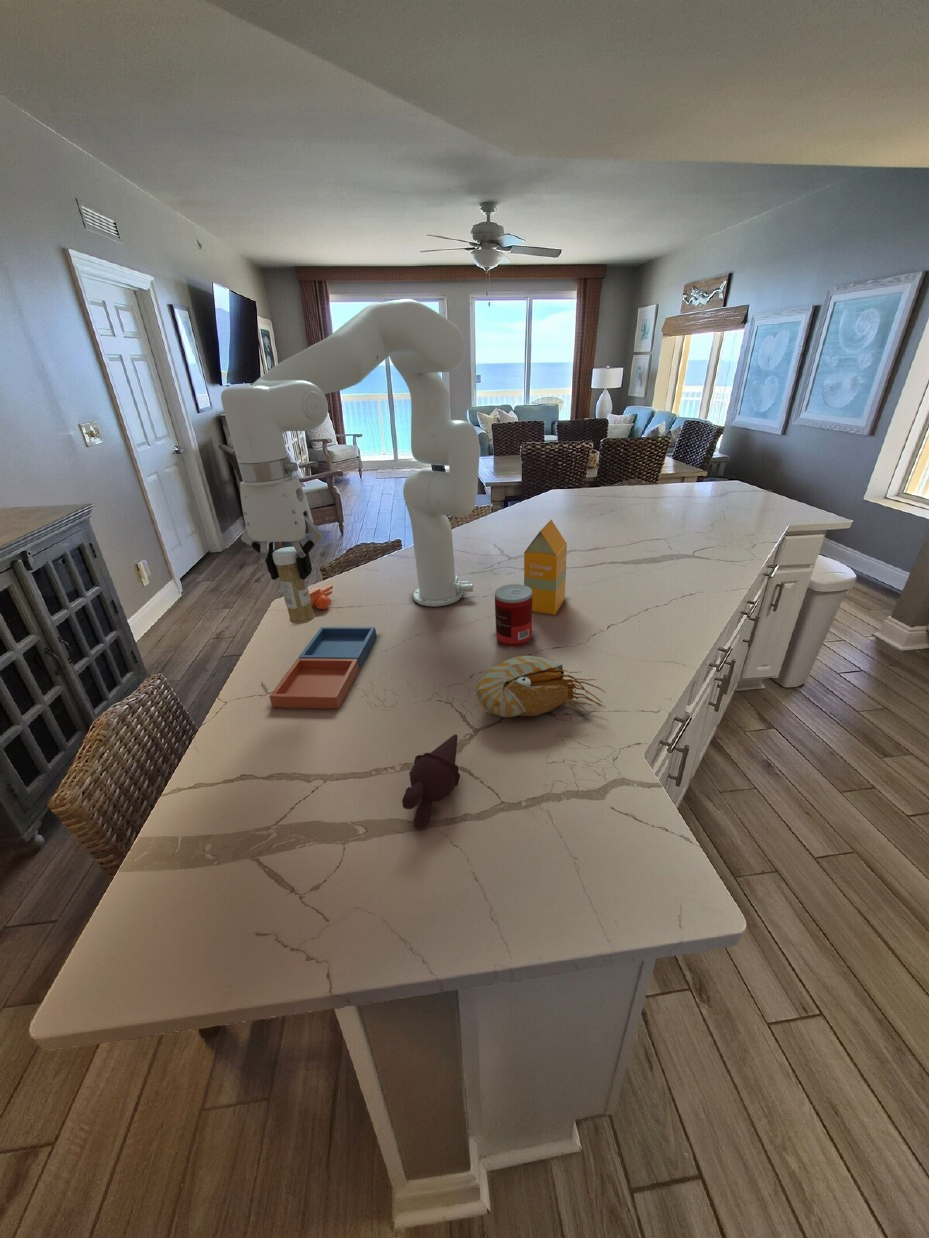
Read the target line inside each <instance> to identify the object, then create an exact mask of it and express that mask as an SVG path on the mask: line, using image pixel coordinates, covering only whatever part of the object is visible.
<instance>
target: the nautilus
mask: <svg viewBox="0 0 929 1238" xmlns="http://www.w3.org/2000/svg"><path fill="white" fill-rule="evenodd" d="M563 666H564V665H563V663H560V662H557V661H553V660H550V659H547V658H544V657H541V656H535V655H522V656H521V655H520V656H514V657H512V658H509V659H506V660H503V661H502V662H499V663H496V664H495V665H493V666H492V667H490V669H489V670H487V671H486V672H484V674H483V675H482V676H481V678H480V679H479V680H478V681H477V684H476V686H475V689H476V690H475V691H476V697H477V699H478V701H479V703H480V706H482V708H483V709H485V710H486V711H488V712H490V713H492V714H493V715H496V716H498V717H502V718H514V717H536V716H539V715H542V714H545V713H549V712H550V711H552V710H554V709H556V708H558V707H559V706H561V705H562V704H569V705H571V706H572V707H573V708H575V709H576V710H577V711H578V712H580V713H581V714H582V715H583V716H584V717H585V718H587V716H586V714H584V712H583V711H582V710H580V709H579V708H581V709H583V710H584V711H586V712H588V709H587V708H584V707H583V706H581V705H588V706H591V707H592V706H594V705H593V704H591V703H587V702H579V701H578V700H579V699H581V698H582V699H585V700H588V701H589V702H592V703H595V705H596V704H597V706H599V708H602V707H603V708H606V706H605V705H603V702H602V701H601V699H600V698H598V697H597V696H595V694H593V693H591V692H590V691H589V690H587V689H586V688H585V687H584V685H583V684H585V685H588V686H591V687H594V688H596V689H599V691H601V692H603V693H604V694H606V692H607V691H605V690H604V689H602V688H600V687H599V686H596V685H594V684H592V683H589V682H587V681H596V679H595V678H591V679H590V678H589V679H586V678H576V677H575V676H573V675H571V674H565V672H566V673H574V674H575V673H576V674H577V673H578V674H579V671H568V670H566V669H564V667H563ZM580 673H583V671H582V670H581V671H580ZM568 678H570V679H568ZM577 690H579V691H580V690H582V691H585V694H584V693H580V692H577ZM588 694H589V695H590V696H593V697H594V698H595V699H596V700H597V701H595V700H594V699H592V698H590V697H589V696H587V695H588ZM573 699H576V700H573ZM598 701H599V702H598ZM578 707H579V708H578Z"/></svg>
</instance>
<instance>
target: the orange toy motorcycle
mask: <svg viewBox="0 0 929 1238" xmlns="http://www.w3.org/2000/svg"><path fill="white" fill-rule="evenodd" d="M333 588H334V586H333V584H331V583H328V584H326V585H324V586H322V587H319V586H315V587H313V588H311V589H310V590H309V589H308V591H309V595H310V600H311V605H312V609H313V608H315V607H316V608H318V609H320V610H327V609H328V608H329V605H330V604H331V602H332V601H331V599H330V597H329V596H330V595H332V594H333Z"/></svg>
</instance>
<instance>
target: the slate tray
mask: <svg viewBox="0 0 929 1238" xmlns="http://www.w3.org/2000/svg"><path fill="white" fill-rule="evenodd" d="M377 637H378V636H377V630H376V627H375V626H321V627H319V629H318V630H317V632H316V633H315V635H314V636H313V637H312V639H311V640H310V641H309V642H308V643H307V645H306V646H305V647H304V649H303V650H302V652H301V653H300V655H299V656H298V658H310V659H358V664H359V669H361V668H362V665H363V664H364V661H365V659H366V658H367V656H368V654H369V653H370V650H371V648H372V647H373V645H374V643H375V641H376V639H377Z"/></svg>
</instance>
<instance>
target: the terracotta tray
mask: <svg viewBox="0 0 929 1238" xmlns="http://www.w3.org/2000/svg"><path fill="white" fill-rule="evenodd" d="M359 672H360V668H359V664H358V659H310V658H299V657H298V658H296V659H295V661H294V662H293V664H292V665H291V666H290V667H289V668H288V671H287V672H286V673H285V674H284V676H283V677H282V678H281V680H280V681H279V682H278V684H277V685H276V686H275V688H274V689H273V690H272V692H271V693H270V695H269V696H268V697H269V700H270V703H271V707H272V708H287V709H288V708H289V709H291V708H293V709H294V708H295V709H334V710H335V709H336V710H337V709H338V710H339V709H340V707H341V705H342V703H343V701H344V700H345V697H346V695H347V694H348V692H349V690H350V688H351V686H352V684H353V683H354V681H355V679H356V677H357V675H358V673H359Z"/></svg>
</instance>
